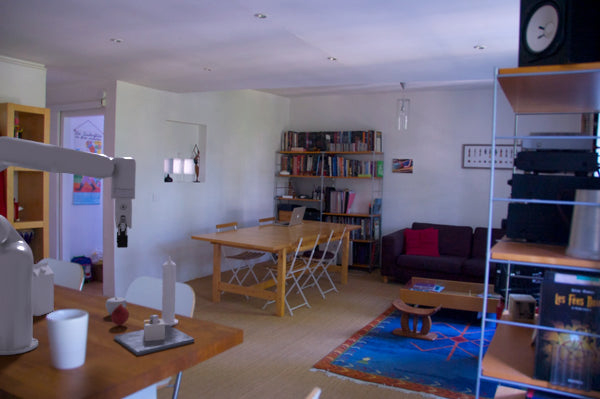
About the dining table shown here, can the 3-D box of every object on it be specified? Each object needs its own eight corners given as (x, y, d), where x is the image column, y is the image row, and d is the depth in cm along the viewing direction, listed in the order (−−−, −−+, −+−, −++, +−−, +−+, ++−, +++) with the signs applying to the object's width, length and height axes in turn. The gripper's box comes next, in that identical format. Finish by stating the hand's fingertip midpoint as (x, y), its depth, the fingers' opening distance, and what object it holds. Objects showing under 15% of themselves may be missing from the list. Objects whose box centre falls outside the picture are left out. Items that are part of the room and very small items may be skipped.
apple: (112, 319, 174) (112, 301, 174) (100, 315, 179) (100, 297, 179) (131, 314, 181) (131, 297, 180) (119, 310, 185) (119, 294, 185)
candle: (182, 322, 174) (183, 255, 172) (169, 327, 167) (170, 257, 166) (167, 319, 177) (168, 253, 175) (153, 324, 170) (155, 255, 169)
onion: (122, 329, 163) (122, 306, 163) (107, 327, 165) (107, 305, 164) (131, 324, 169) (132, 302, 169) (117, 322, 170) (117, 301, 170)
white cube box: (164, 339, 152) (165, 322, 152) (145, 341, 149) (145, 323, 149) (162, 333, 157) (163, 316, 157) (143, 335, 155) (144, 318, 155)
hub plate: (137, 355, 140) (137, 328, 140) (114, 339, 154) (114, 314, 153) (194, 342, 153) (194, 317, 153) (168, 328, 166) (168, 305, 166)
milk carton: (23, 313, 177) (24, 263, 176) (40, 309, 184) (40, 261, 183) (37, 316, 174) (37, 265, 174) (53, 311, 181) (54, 262, 180)
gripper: (136, 195, 150) (135, 249, 151) (133, 193, 166) (132, 241, 167) (111, 195, 147) (109, 249, 148) (110, 193, 163) (109, 242, 164)
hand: (121, 245), depth 157 cm, fingers open, 9 cm apart
